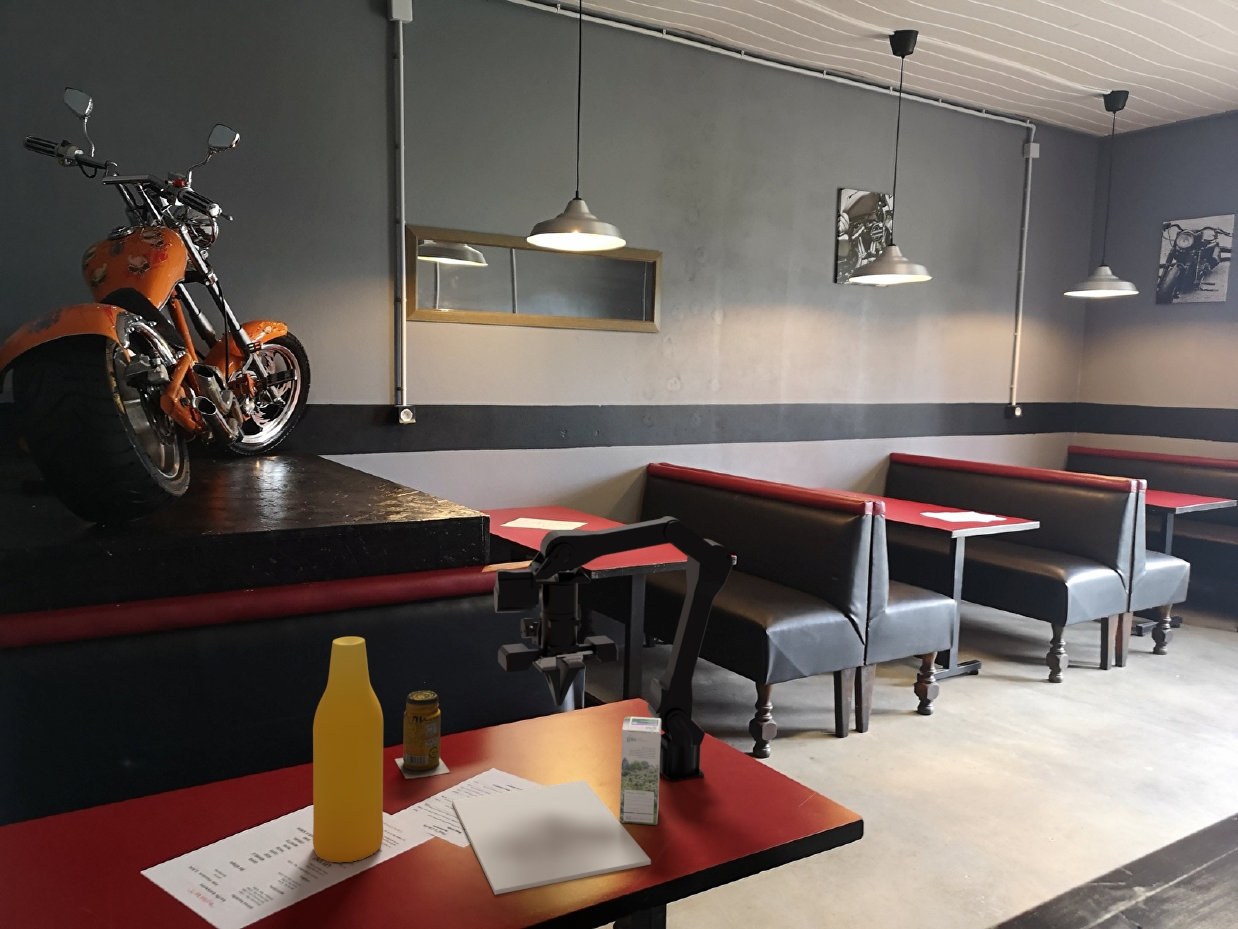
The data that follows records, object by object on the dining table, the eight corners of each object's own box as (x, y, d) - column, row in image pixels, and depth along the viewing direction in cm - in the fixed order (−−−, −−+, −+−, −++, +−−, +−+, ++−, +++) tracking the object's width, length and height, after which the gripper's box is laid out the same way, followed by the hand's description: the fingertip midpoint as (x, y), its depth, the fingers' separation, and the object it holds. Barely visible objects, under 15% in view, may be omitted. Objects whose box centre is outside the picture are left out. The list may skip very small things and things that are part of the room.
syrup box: (658, 808, 136) (661, 716, 135) (657, 827, 130) (660, 730, 129) (621, 805, 136) (624, 714, 135) (618, 824, 131) (621, 728, 129)
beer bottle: (318, 871, 116) (318, 654, 113) (308, 838, 124) (307, 635, 122) (390, 856, 120) (391, 646, 118) (375, 825, 128) (375, 628, 126)
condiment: (437, 754, 154) (437, 686, 153) (450, 773, 146) (450, 702, 145) (394, 760, 151) (395, 691, 150) (405, 780, 143) (406, 708, 142)
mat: (584, 783, 144) (584, 780, 144) (650, 864, 120) (650, 860, 120) (452, 803, 135) (452, 800, 135) (494, 894, 112) (494, 890, 111)
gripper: (595, 594, 153) (594, 683, 154) (489, 602, 146) (489, 695, 147) (620, 610, 142) (618, 704, 144) (507, 619, 135) (507, 719, 137)
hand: (558, 705), depth 143 cm, fingers closed
